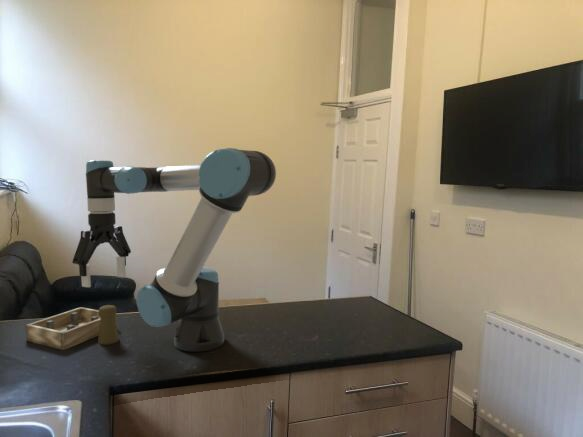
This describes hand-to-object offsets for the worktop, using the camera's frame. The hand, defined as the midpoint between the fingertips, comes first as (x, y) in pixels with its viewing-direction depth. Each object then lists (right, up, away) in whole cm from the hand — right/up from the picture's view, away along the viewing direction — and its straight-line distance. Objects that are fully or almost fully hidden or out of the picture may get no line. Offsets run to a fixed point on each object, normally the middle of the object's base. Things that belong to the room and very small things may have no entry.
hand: (104, 281), depth 134 cm
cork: (0, -19, +2) cm, 19 cm away
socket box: (-13, -18, +6) cm, 23 cm away
